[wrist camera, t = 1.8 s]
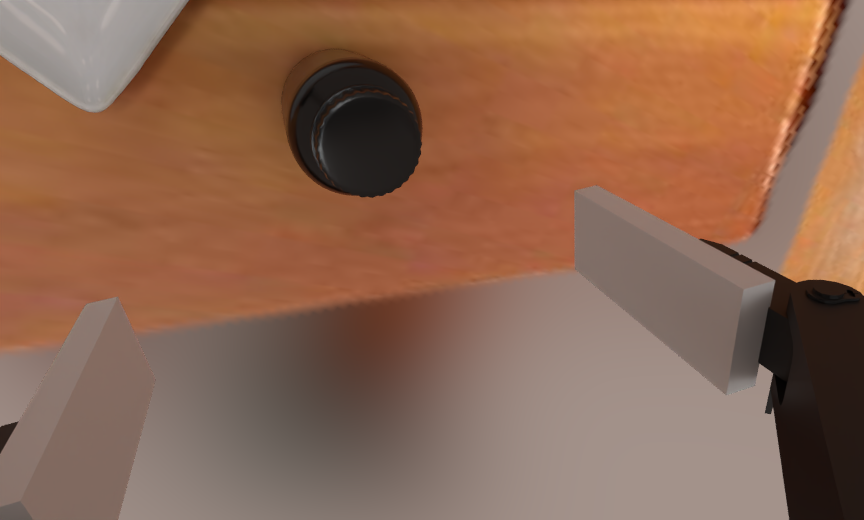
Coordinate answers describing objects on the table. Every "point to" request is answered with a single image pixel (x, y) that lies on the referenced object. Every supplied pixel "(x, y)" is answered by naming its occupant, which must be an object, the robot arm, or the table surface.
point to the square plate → (84, 43)
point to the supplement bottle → (351, 123)
